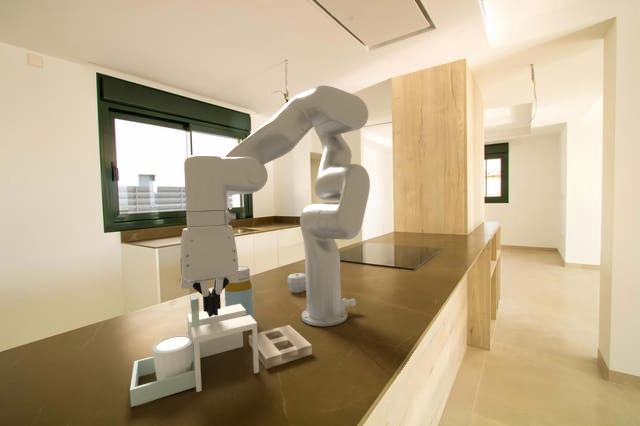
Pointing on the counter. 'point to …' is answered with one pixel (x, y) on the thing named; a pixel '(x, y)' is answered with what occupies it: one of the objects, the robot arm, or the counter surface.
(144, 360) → the slider
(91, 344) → the counter surface
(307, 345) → the board
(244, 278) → the bottle
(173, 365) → the white cup
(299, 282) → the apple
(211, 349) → the tunnel
